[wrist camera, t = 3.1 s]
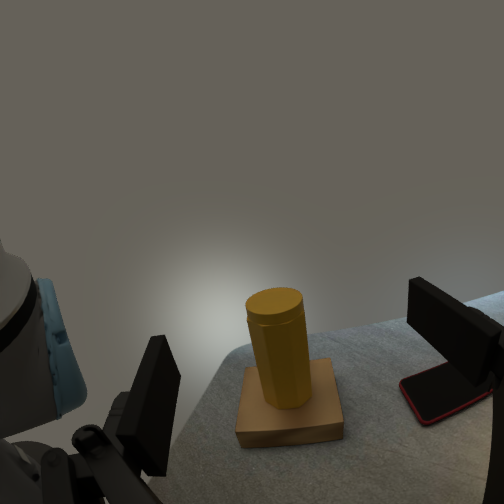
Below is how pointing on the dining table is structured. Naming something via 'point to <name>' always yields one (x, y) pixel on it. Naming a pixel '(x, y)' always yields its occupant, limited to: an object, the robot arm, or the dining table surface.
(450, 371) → the smartphone
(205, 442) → the dining table surface
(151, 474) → the robot arm
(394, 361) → the dining table surface
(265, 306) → the jar
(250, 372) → the stand
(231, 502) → the dining table surface
